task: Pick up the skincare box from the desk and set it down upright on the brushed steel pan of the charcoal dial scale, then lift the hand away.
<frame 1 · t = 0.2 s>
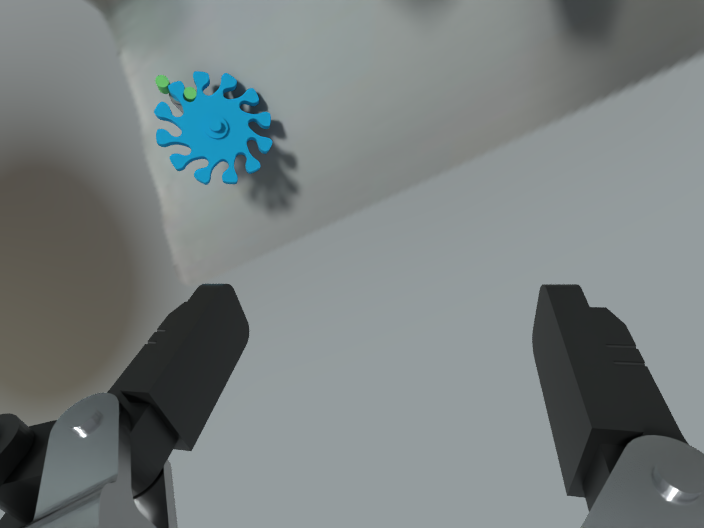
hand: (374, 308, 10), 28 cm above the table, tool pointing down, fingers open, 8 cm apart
gear: (229, 112, 38), on the table
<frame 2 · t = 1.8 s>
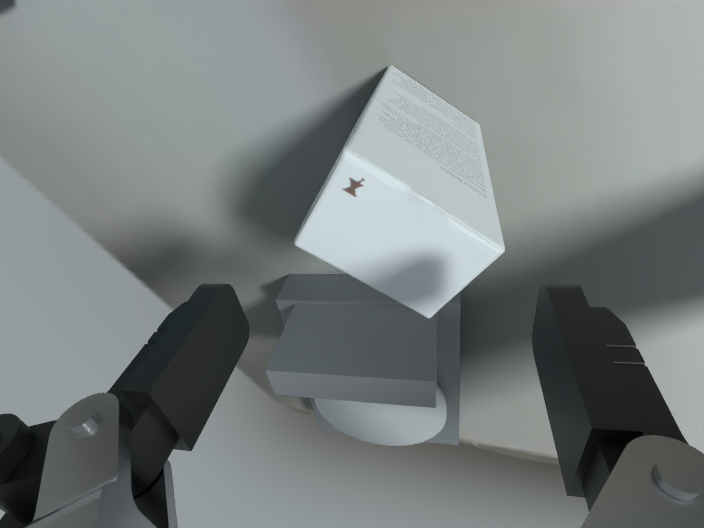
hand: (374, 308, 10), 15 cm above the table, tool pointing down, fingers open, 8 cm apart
dial scale: (381, 351, 34), on the table
skincare box: (415, 127, 22), on the table
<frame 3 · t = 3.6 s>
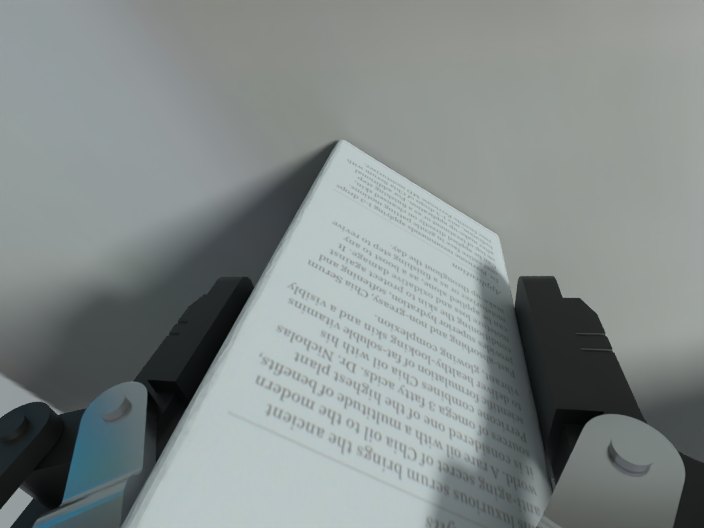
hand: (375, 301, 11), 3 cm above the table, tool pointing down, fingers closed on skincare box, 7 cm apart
skincare box: (390, 231, 13), on the table, touching gripper
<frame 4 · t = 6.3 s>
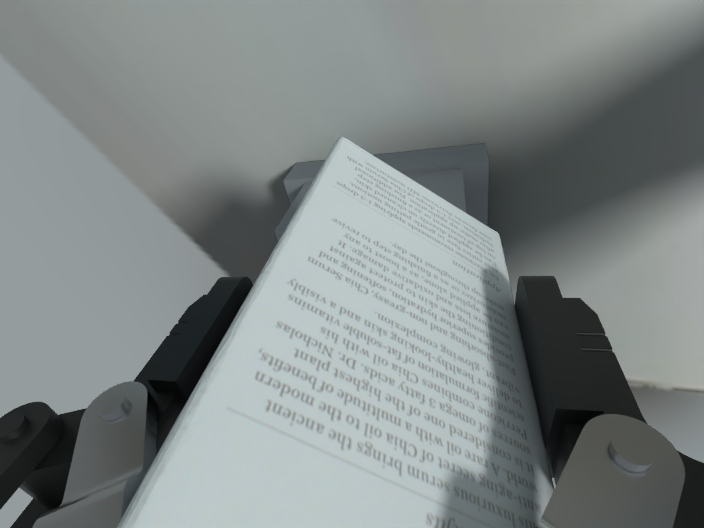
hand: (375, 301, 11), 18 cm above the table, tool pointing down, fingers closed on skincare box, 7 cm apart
dial scale: (398, 255, 31), on the table
skincare box: (390, 229, 13), point 14 cm above the table, touching gripper
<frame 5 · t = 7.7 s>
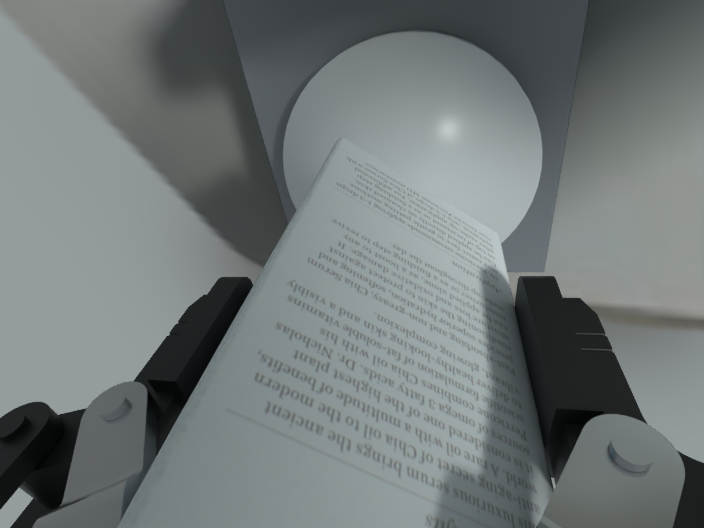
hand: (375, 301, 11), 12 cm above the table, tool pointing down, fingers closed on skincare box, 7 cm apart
dial scale: (407, 94, 19), on the table
skincare box: (390, 229, 13), point 9 cm above the table, touching gripper
when the fingers open (9 cm above the table, at t = 9.0 s): skincare box drops 1 cm, resting on dial scale.
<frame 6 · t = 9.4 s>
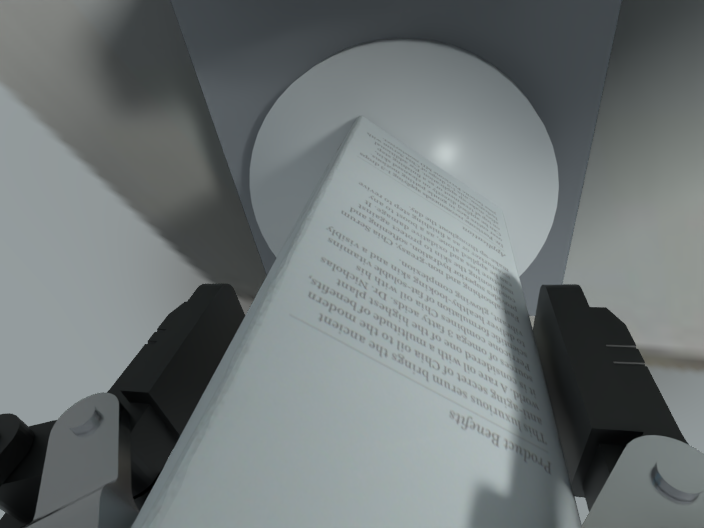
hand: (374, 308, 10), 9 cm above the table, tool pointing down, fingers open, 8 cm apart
dial scale: (397, 111, 16), on the table
skincare box: (401, 205, 14), point 4 cm above the table, touching dial scale
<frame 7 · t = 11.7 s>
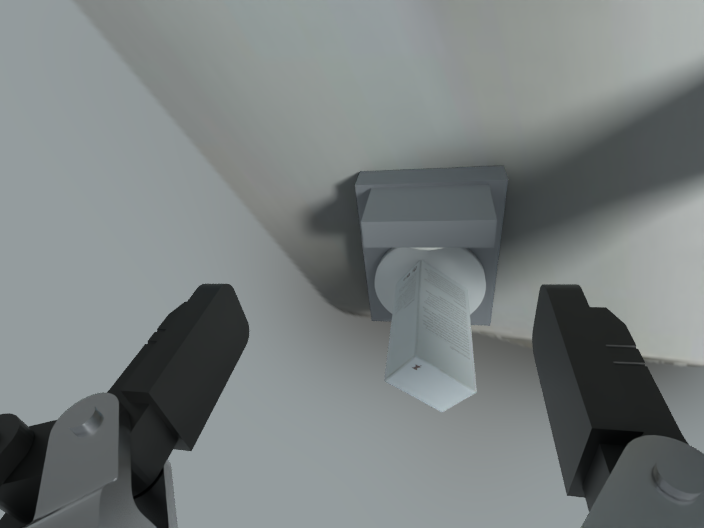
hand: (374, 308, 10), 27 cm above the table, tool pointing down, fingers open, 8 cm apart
dial scale: (429, 245, 41), on the table
skincare box: (431, 285, 39), point 4 cm above the table, touching dial scale
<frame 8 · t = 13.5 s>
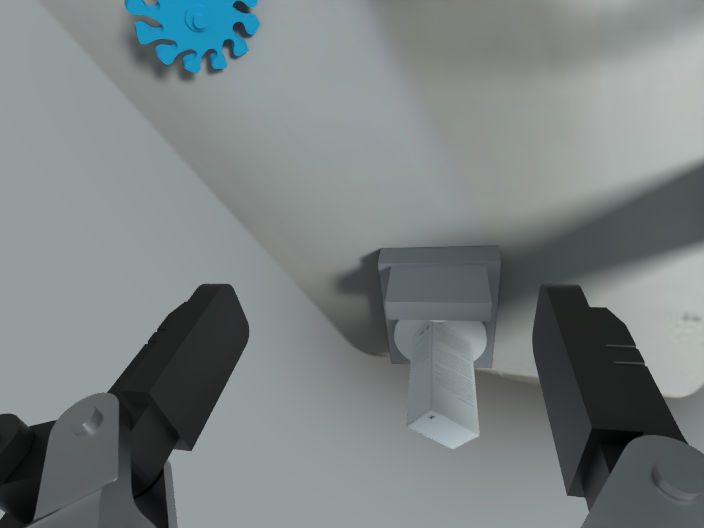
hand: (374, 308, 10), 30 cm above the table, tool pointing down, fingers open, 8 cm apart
dial scale: (439, 302, 49), on the table
skincare box: (441, 338, 48), point 4 cm above the table, touching dial scale
gear: (222, 4, 34), on the table
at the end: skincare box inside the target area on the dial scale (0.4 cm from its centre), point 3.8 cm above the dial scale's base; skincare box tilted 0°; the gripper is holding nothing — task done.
